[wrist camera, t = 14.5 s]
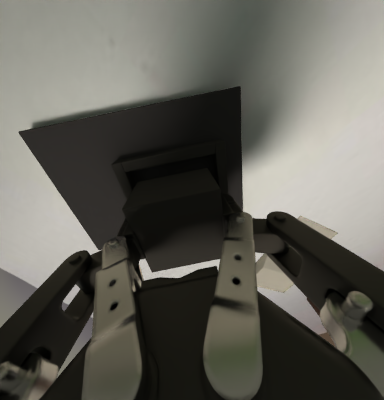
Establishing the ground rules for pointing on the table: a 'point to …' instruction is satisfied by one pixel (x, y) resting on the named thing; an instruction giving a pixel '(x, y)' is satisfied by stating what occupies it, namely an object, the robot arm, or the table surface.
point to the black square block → (177, 219)
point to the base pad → (139, 153)
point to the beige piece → (272, 274)
